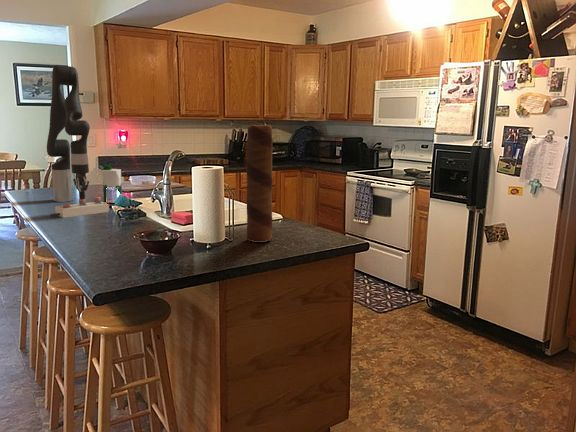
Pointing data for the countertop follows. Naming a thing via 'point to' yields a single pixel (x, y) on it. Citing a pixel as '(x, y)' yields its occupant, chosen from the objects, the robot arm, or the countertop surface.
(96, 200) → the button
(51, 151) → the robot arm
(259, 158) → the wafer roll
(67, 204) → the button
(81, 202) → the button
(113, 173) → the milk carton
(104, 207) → the button panel
